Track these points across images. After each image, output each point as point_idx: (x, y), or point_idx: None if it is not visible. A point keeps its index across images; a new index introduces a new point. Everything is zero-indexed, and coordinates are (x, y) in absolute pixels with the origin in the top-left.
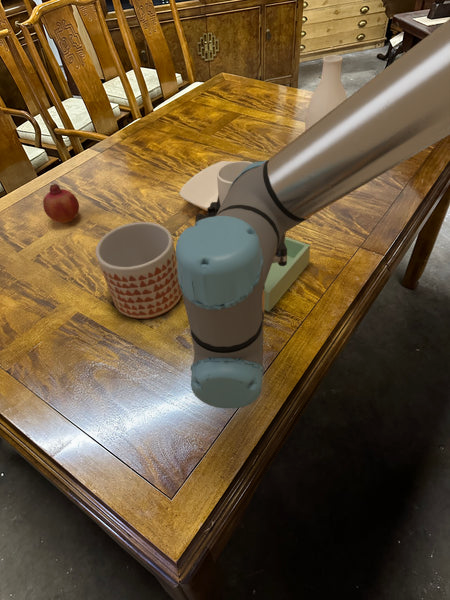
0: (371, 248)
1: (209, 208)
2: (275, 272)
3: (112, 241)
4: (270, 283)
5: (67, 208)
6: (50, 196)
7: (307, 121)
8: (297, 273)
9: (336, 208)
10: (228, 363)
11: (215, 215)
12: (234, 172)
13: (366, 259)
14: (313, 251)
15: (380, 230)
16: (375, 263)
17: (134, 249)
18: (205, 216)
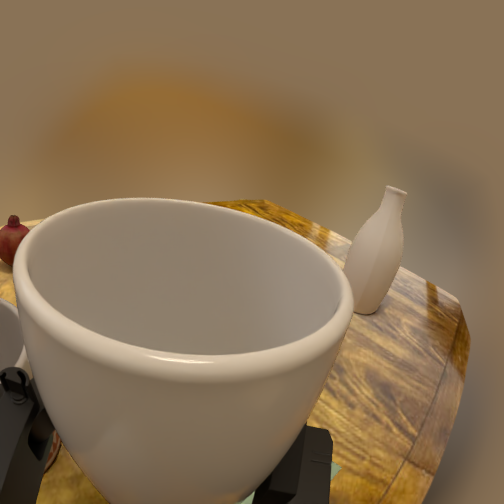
0: (421, 462)
1: (7, 375)
2: (251, 501)
3: None
4: None
5: (12, 248)
6: (5, 227)
7: (353, 250)
8: None
9: (374, 379)
10: None
11: (17, 422)
12: (187, 256)
13: (414, 484)
14: (334, 459)
15: (430, 428)
16: (425, 493)
17: (2, 345)
18: (1, 394)
